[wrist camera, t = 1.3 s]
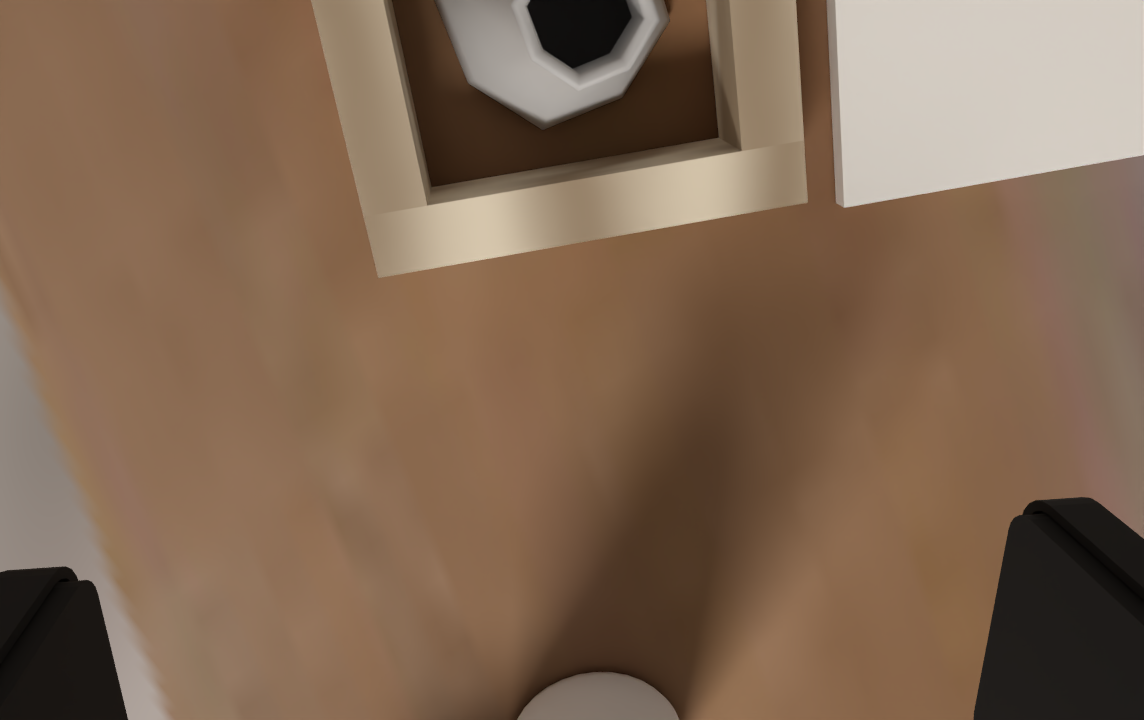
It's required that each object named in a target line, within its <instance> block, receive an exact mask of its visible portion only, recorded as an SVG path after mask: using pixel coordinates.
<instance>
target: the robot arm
mask: <svg viewBox="0 0 1144 720" xmlns="http://www.w3.org/2000/svg"><path fill="white" fill-rule="evenodd" d="M0 720H128V718H127V714H126V709H125V705H124V701H123V697H122V693H121V688H120V684H119V680H118V676H117V672H116V668H115V664H114V659H113V655H112V651H111V647H110V642H109V638H108V634H107V630H106V626H105V622H104V617H103V614H102V609H101V605H100V601H99V597H98V593H97V590H96V587H95V586H94V584H93V583H92V582H91V581H89V580H83V581H78V579H77V576H76V575H75V573H74V572H73V570H72V569H70V568H68V567H51V568H37V569H23V570H22V569H21V570H7V571H4V572H0ZM974 720H1144V539H1143V538H1142V537H1141V536H1139V535H1138V534H1137V533H1136V532H1134V531H1133V530H1132V529H1131V528H1129V527H1128V526H1127V525H1126V524H1124V523H1123V522H1122V521H1121V520H1120V519H1118V518H1117V517H1116V516H1115V515H1113V514H1112V513H1111V512H1110V511H1108V510H1107V509H1106V508H1105V507H1103V506H1102V505H1101V504H1100V503H1098V502H1097V501H1095V500H1093V499H1091V498H1085V497H1079V498H1065V499H1050V500H1035V501H1033V502H1031V503H1029V504H1028V506H1027V507H1026V508H1025V510H1024V512H1023V515H1019V516H1017V517H1015V518H1014V519H1013V520H1012V522H1011V524H1010V527H1009V530H1008V536H1007V541H1006V546H1005V551H1004V557H1003V562H1002V567H1001V573H1000V578H999V583H998V588H997V594H996V599H995V604H994V610H993V615H992V620H991V625H990V631H989V636H988V641H987V647H986V652H985V657H984V662H983V668H982V673H981V678H980V684H979V689H978V694H977V699H976V705H975V710H974Z"/></svg>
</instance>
